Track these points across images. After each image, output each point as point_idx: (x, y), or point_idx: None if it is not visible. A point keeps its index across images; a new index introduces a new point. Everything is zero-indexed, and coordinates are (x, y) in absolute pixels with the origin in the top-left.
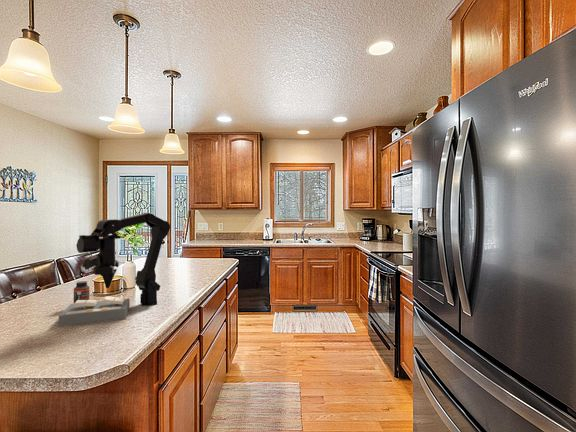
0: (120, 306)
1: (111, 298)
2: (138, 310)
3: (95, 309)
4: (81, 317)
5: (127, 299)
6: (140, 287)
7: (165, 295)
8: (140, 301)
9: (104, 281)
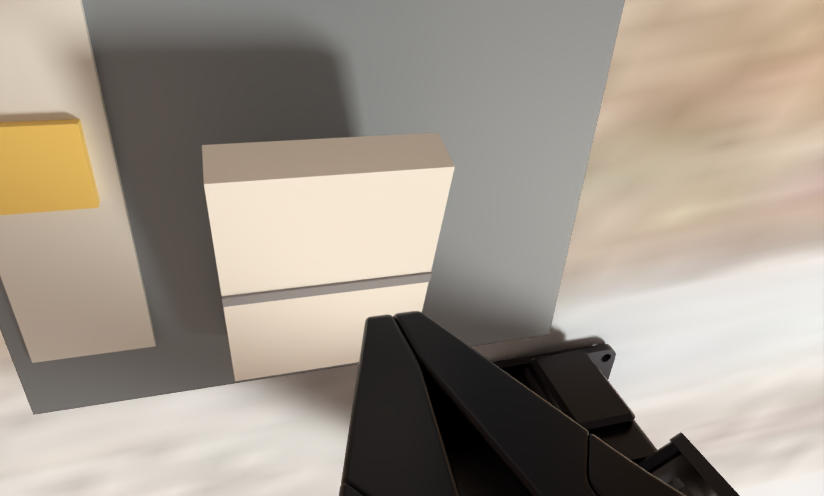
0: (151, 342)
1: (333, 254)
2: (352, 367)
3: (43, 5)
4: None
5: (514, 324)
6: (692, 466)
7: (706, 448)
8: (544, 372)
9: (347, 467)
